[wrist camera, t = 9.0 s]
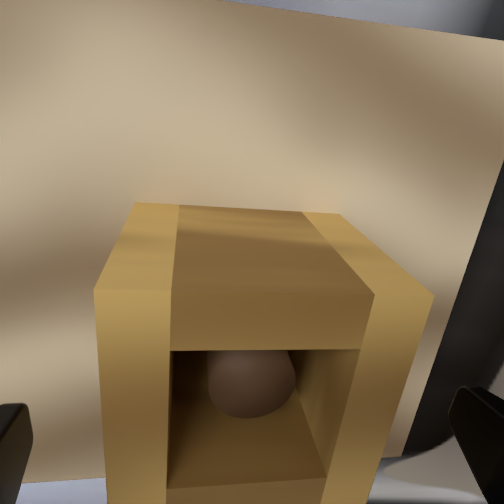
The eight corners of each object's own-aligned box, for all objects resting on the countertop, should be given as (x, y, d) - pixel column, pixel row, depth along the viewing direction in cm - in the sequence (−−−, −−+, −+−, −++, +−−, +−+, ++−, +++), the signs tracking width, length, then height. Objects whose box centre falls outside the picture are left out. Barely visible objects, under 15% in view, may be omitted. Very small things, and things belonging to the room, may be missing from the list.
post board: (385, 428, 18) (459, 559, 13) (18, 449, 15) (-66, 625, 10) (502, 51, 12) (730, 24, 7) (-79, -29, 9) (-410, -172, 4)
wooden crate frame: (307, 370, 14) (364, 508, 9) (137, 373, 13) (108, 530, 8) (338, 214, 12) (435, 295, 7) (135, 201, 10) (93, 289, 6)
